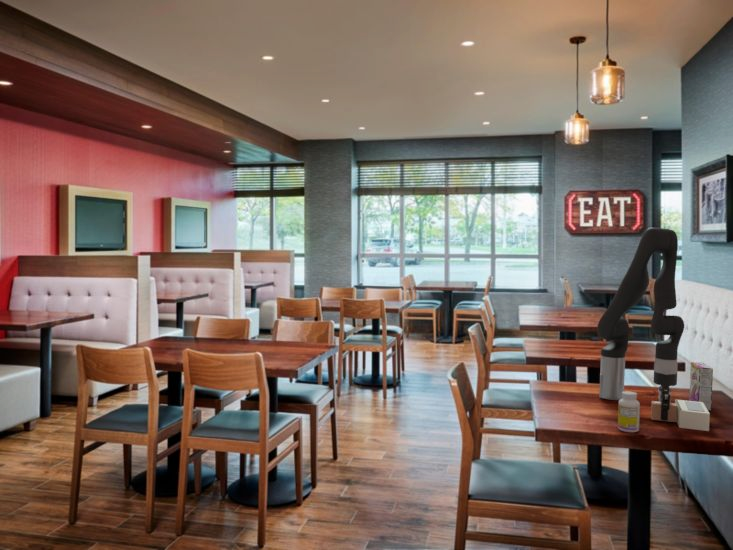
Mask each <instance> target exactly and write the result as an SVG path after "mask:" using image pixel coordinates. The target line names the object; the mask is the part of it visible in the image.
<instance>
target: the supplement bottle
mask: <svg viewBox="0 0 733 550" xmlns="http://www.w3.org/2000/svg"><path fill="white" fill-rule="evenodd" d="M622 397H623V398H622V399H620V400H618V407H617V409H618V410H617V411H618V412H617V429H618V430H620V431H622V432H623V433H624V432H625V433H638V432H639V430H640V414H641V413H640V410H641V404H640V402H639V400H637V397H638V393H637V392H635V391H630V390H628V391H627V390H624V391H623V392H622Z"/></svg>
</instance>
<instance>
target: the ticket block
mask: <svg viewBox="0 0 733 550" xmlns="http://www.w3.org/2000/svg"><path fill="white" fill-rule="evenodd" d="M674 403H676V404H677V422H676V423H677V425H678V428H679V429H686V430H687V429H689V430H697V431H706V432H709V431H710V418H711V417H710V416H711V413H710V412H709V410H707V408H706V407H705V405H704V403H703V402H696V401H689V400H683V399H674Z"/></svg>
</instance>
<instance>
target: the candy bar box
mask: <svg viewBox="0 0 733 550" xmlns="http://www.w3.org/2000/svg"><path fill="white" fill-rule="evenodd" d="M713 373H714V369H713V367H711V366H709V365H707V364H706V363H704V362H697V361H696V362H694V361H691V362H690V373H689V374H690V378H689V380H690V381H689V400H688V401H696V402H703V403H704V405H705V407H706V408H707V410H708V411H712V403H713V401H712V400H713V399H712V398H713V381H714V380H713V375H714V374H713Z"/></svg>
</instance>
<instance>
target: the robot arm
mask: <svg viewBox="0 0 733 550" xmlns="http://www.w3.org/2000/svg"><path fill="white" fill-rule="evenodd" d="M678 245H679V242H678V236H677V232H675V230H673V229H671V228H661V227H648V228H647V229H646V230H645V231H644V232H643V233H642V236H641V238H640V240H639V243H638V245H637V248H636V251H635V252H634V253H635V254H634V256H633V259H632V260H631V262H630V265H629V267H628V269H627V271H626V273H625V274H624V277H623V278H622V281H621V283H620V284H619V287H618V289H617V291H616V293H615V294H614V296H613V299H612V300H611V301H610V304H609V305H608V306H607V308H606V310H605V311H604V313H603V315H602V316H601V317H600V319H599V320H598V322H597V323H598V324H597V327H596V331H597V335H598V337H599V338H600V339H602V340H607V341H609V343H608V344H607V345H605V346H603V347H602V348H601V349H600V373H599V398H600V399H605V400H611V401H619V400H620V399H622V398H623V397H622V392H623V391H625V375H626V372H625V371H626V353H627V351H628V346H629V338H630V327H629V326H630V325H629V322H628V321H627V319H626V318H625V317H623V316H624V315H625V313H627V312H628V311H629V310H630V309H632V308H633V307H634V306H635V305H637V304H638V303H639V302H640V301H641V300H642V298H643V297H644V295H645V293H646V291H647V289H648V287H649V285H650V276H649V271H648V265H649V261H650V259H651V257H652V255H653V254H660V255H662V257H661V258H662V265H661V268H660V271H659V273H658V275H657V277H656V278H655V281H654V285H653V295H654V296H653V297H654V308H653V313H652V314H653V315H652V318H651V321H650V322H651V323H650V327H651V331H652V333H653V334H655V335H657V336H669V337H668V338H667V339H666V340H659V341H658V342H656V343H655V359H654V363H653V384H655V385H659V387H658V389H657V391H658V402H660V403H661V420H668V410H669V409H670V407H669V406H670V403H671V398H672V397H671V396H672V390H671V388H670V387H674V386H677V384H678V348H679V345H680V342H681V339H682V336H683V332H684V330H685V321H684V320H683V318H682V316H679V315H665V314H664V312H665V311H667V310H673V309H675V308H676V307H677V295H676V270H677V269H676V268H677V257H678ZM663 404H667V406H663Z"/></svg>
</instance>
